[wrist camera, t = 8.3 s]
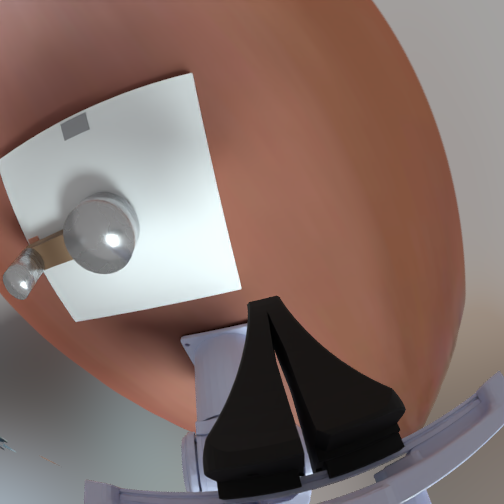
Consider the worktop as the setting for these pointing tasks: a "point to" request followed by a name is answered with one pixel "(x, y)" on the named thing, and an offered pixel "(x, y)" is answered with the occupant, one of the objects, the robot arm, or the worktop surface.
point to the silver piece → (80, 243)
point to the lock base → (130, 198)
